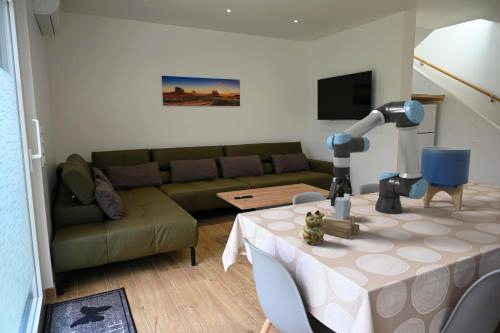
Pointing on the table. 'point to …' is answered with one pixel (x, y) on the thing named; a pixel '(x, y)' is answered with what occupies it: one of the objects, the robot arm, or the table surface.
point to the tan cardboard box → (341, 231)
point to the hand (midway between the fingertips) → (340, 209)
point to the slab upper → (339, 222)
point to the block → (341, 209)
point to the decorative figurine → (313, 227)
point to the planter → (445, 172)
